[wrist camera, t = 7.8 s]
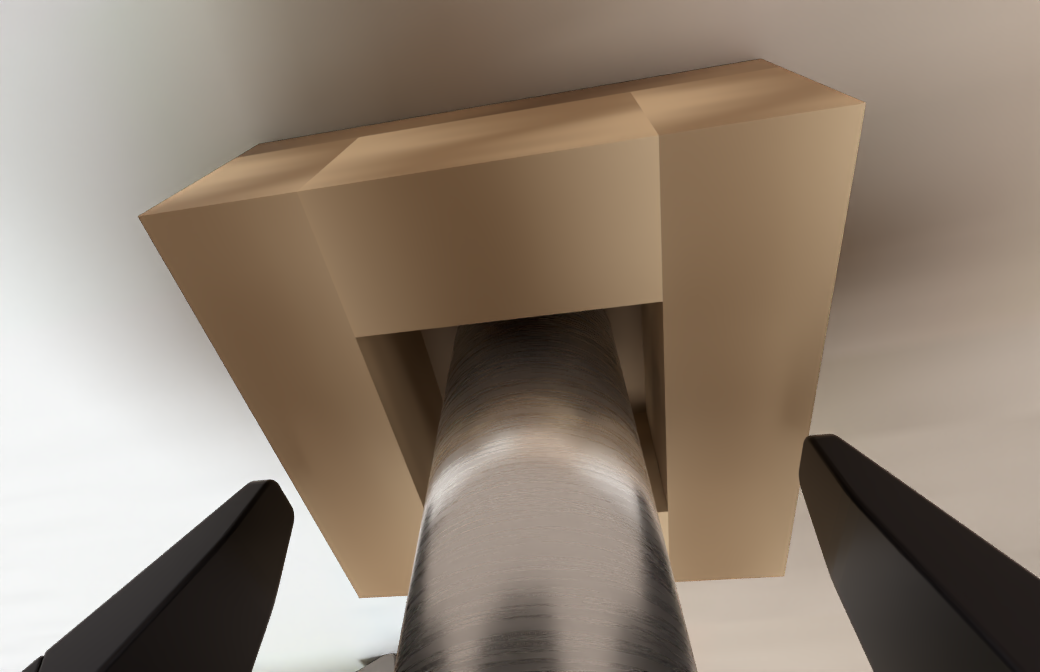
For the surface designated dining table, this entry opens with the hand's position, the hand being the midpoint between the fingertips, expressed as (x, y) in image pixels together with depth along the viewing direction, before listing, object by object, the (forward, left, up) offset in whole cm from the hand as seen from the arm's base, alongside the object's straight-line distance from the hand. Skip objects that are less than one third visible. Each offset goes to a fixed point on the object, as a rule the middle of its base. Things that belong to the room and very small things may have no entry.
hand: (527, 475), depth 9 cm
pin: (0, 0, -4) cm, 4 cm away
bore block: (0, 0, -5) cm, 5 cm away
